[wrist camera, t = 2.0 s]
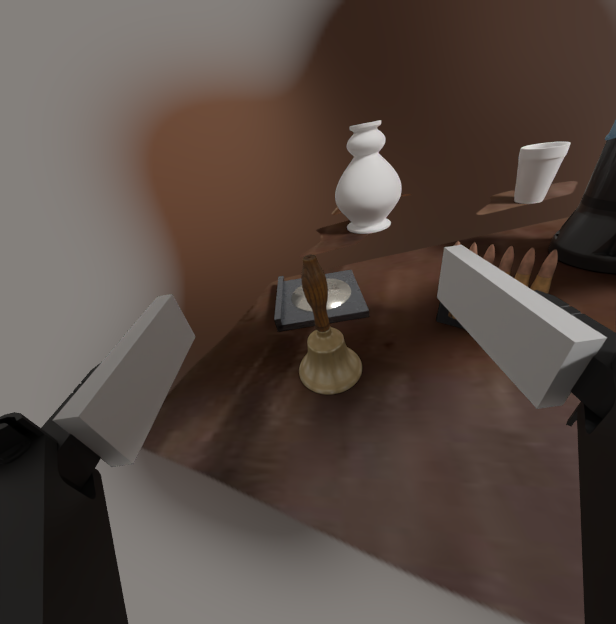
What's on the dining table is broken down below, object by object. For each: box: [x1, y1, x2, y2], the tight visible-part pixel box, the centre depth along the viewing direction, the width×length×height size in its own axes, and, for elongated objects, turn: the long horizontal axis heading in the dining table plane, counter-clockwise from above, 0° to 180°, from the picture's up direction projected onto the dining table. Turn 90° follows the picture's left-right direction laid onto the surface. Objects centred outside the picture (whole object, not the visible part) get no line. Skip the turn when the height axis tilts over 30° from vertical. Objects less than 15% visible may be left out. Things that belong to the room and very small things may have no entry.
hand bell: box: [299, 255, 362, 395], centre depth 29 cm, size 8×8×16 cm
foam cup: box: [514, 142, 570, 204], centre depth 68 cm, size 10×9×13 cm
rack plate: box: [274, 270, 369, 332], centre depth 47 cm, size 15×15×2 cm
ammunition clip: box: [436, 241, 558, 329], centre depth 32 cm, size 11×2×12 cm, turn 50°
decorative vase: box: [335, 120, 401, 234], centre depth 69 cm, size 18×18×25 cm
